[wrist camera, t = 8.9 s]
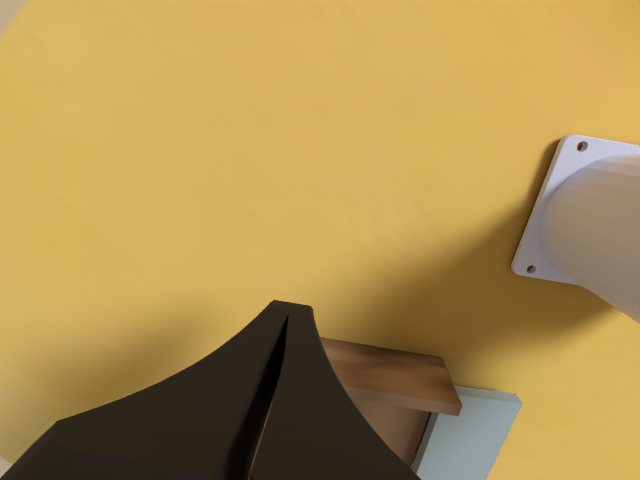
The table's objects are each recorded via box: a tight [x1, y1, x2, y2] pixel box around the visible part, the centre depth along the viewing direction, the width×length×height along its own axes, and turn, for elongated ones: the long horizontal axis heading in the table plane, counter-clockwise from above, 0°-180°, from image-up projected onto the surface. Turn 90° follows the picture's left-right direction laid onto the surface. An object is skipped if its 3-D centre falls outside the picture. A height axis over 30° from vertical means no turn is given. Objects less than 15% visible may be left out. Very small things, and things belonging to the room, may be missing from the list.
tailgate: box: [411, 385, 522, 480], centre depth 22 cm, size 1×9×5 cm
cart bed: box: [249, 338, 463, 477], centre depth 22 cm, size 12×11×4 cm
